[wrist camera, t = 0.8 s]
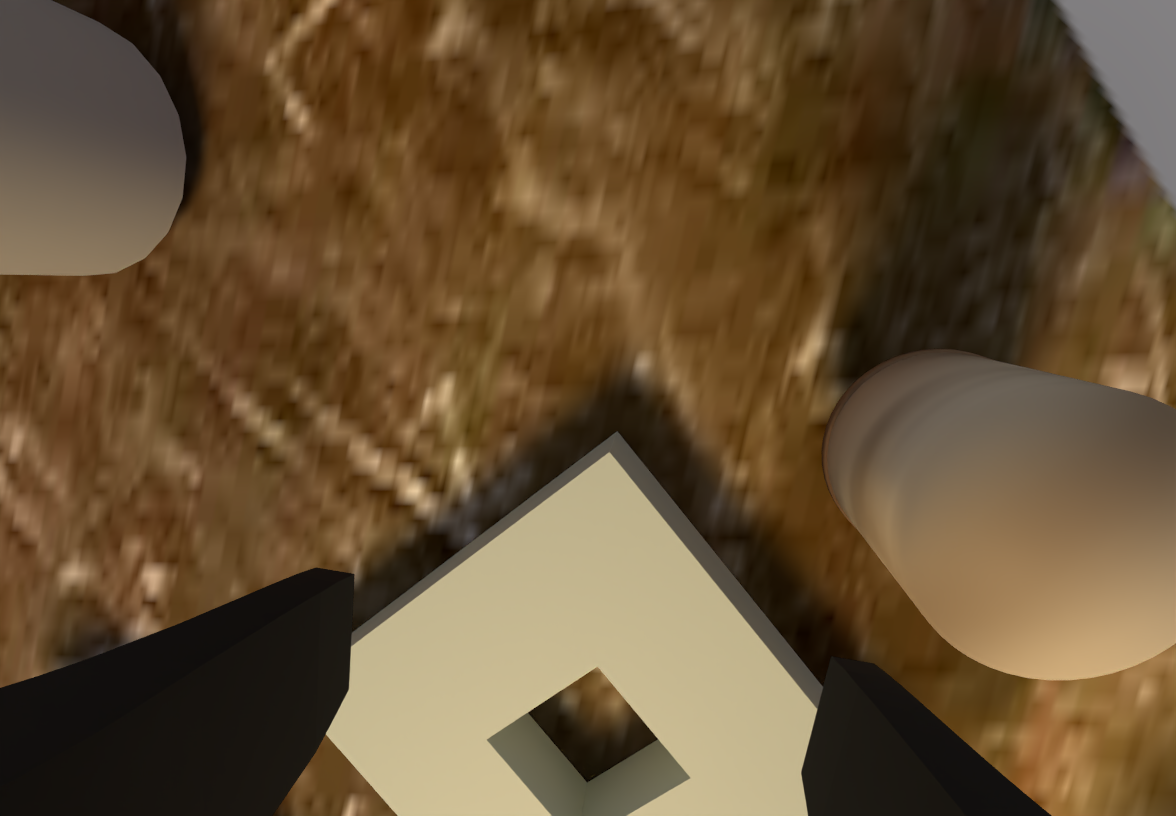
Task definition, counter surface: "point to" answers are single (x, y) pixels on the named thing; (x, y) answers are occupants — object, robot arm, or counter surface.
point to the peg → (1015, 508)
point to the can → (81, 145)
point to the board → (579, 666)
